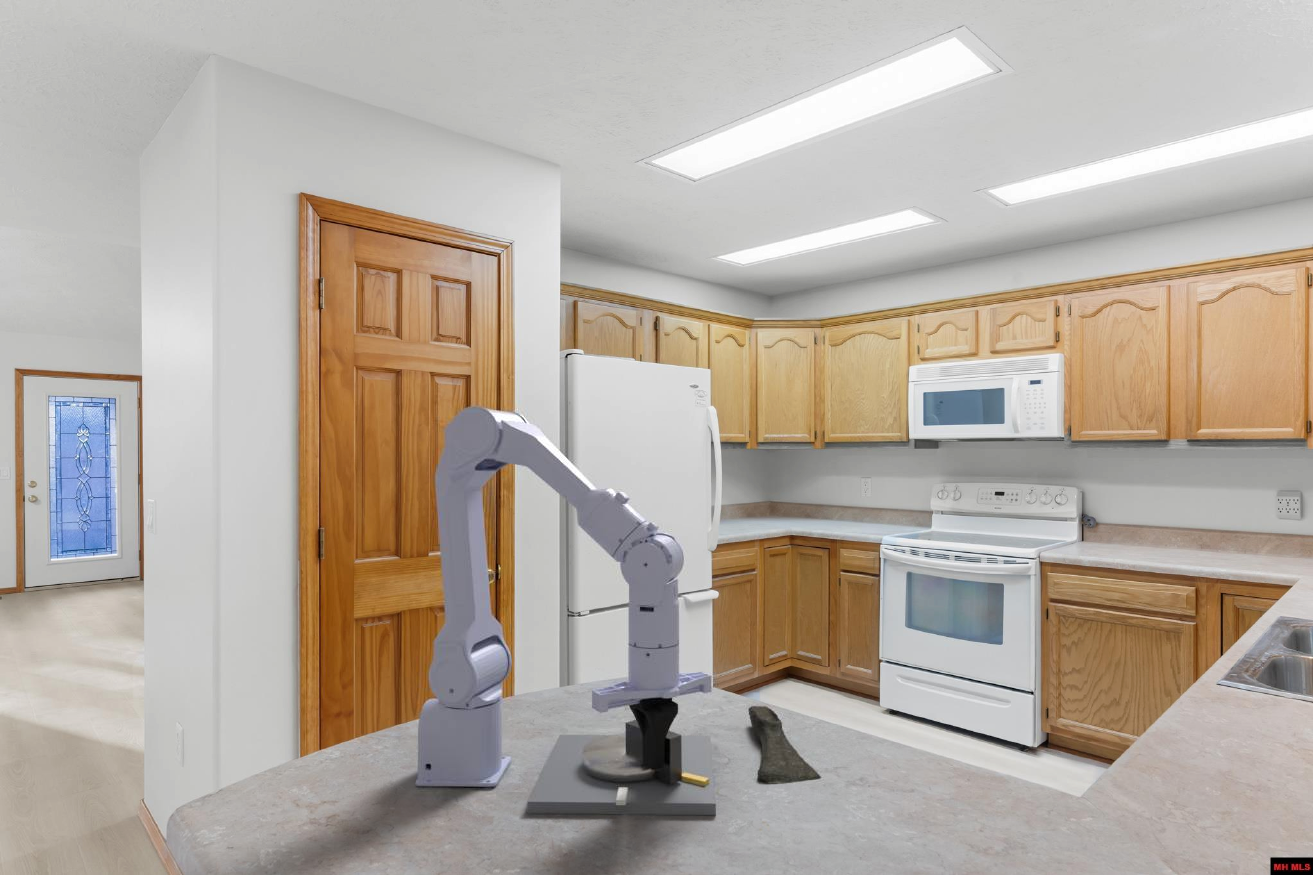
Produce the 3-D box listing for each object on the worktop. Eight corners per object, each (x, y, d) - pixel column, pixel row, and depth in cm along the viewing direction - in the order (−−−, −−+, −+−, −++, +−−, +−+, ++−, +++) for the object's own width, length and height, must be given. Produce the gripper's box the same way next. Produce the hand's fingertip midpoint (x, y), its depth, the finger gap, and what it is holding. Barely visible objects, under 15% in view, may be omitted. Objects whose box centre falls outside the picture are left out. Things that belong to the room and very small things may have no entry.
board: (526, 815, 79) (526, 799, 79) (559, 743, 99) (559, 730, 99) (716, 817, 78) (715, 801, 78) (710, 744, 99) (710, 731, 99)
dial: (563, 762, 89) (563, 720, 89) (632, 738, 97) (632, 699, 97) (639, 797, 79) (639, 750, 80) (709, 768, 87) (708, 725, 87)
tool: (823, 795, 87) (826, 769, 87) (759, 793, 86) (761, 767, 86) (779, 717, 108) (781, 697, 108) (726, 715, 107) (728, 694, 107)
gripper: (613, 658, 77) (613, 793, 76) (726, 641, 84) (727, 764, 84) (583, 645, 83) (583, 769, 82) (692, 630, 90) (692, 744, 90)
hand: (654, 765), depth 83 cm, fingers closed, pressing on dial
